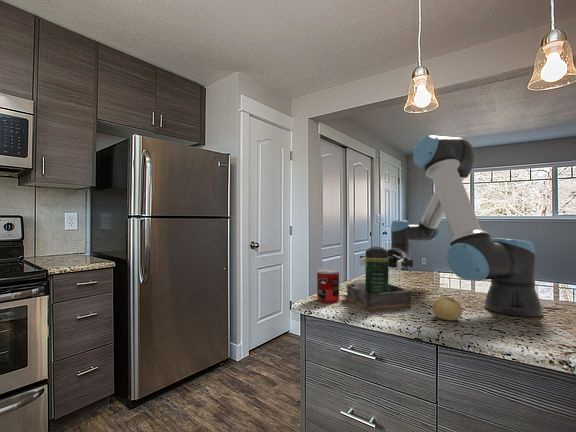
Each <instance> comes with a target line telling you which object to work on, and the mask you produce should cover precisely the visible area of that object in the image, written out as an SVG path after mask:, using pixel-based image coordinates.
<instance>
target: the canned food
mask: <svg viewBox="0 0 576 432" xmlns="http://www.w3.org/2000/svg"><path fill="white" fill-rule="evenodd" d="M316 283H317V284H316V290H317V291H316V296H317V297H316V299H317V300H318V302H319V303H325V304H333V303H337V302H339V300H340V271H339V270H338V269H333V268H320V269H317V271H316Z"/></svg>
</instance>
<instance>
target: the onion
mask: <svg viewBox="0 0 576 432" xmlns="http://www.w3.org/2000/svg"><path fill="white" fill-rule="evenodd" d="M454 298H455V296H452V297H449V296H442V297H439V298H437V299H435V300H434V301H433V303H432V306H431V308H432V313H433V314H434V316H435V317H436V318H438V319H440V320H443V321H457V320H459V319H460V318H461V317H462V314H463V307H462V306H461V304H460V303H459V302H458V301H457V300H456V299H454Z"/></svg>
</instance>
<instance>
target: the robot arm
mask: <svg viewBox="0 0 576 432" xmlns="http://www.w3.org/2000/svg"><path fill="white" fill-rule="evenodd" d="M413 150H414V151H413V156H412V157H413V158H412V159H413V163H414V165H415V166H416V167H418V168H421V169H423V172H424V173H425V176H426V177H427V178H430V179H431V180H432V182H433V186H434V188H435V190H434V193H433V194H432V196H431V199H430V200H429V203H428V204H427V207H426V208H425V210H424V213H423V214H422V217H421V219H420V221H419V222H418V224H412V223H411V224H410V222H409V220H406V219H405V220H399V219H398V220H394V219H393V220H392V221H391V224H390V225H391V226H390V239H391V241H390V242H391V244H390V249H386V250H387V251H388V263H389V268H396V269H397V270H400V269H402V268H405V267H406V268H407V267H409V268H413V266H414V260H413V259H411V256H412V253H411V250H410V242H431V241H435V240H437V239H438V238H439V236H440V229H439V225H440V223H441V221H442V220H443V218H444V216H445V218H446V219H445V220H446V222H447V223H448V224H447V225H448V228H449V230H450V232H451V236H452V239H451V240H450V243H449V245H450V247H449V248H448V250H447V256H446V259H447V264H448V266H449V268H450V270H451V271H452V273H453V274H454V275H455V276H456V277H459V279H461V280H465V281H473V282H481V281H485V280H487V281H488V280H490V286H489V288H488V291H487V294H486V297H485V300H484V307H485V309H487V310H489V311H492V312H495V313H499V314H503V315H508V316H515V317H524V318H537V317H541V316H543V314H544V313H543V306H542V305H541V301H540V297H539V295H538V293H537V290H536V252H535V245H534V243H532V242H531V241H528V240H520V239H512V238H501V237H493V238H492V237H491V235H490V233H489V232H487V231H485V230H483V229H482V228H481V225H480V223H479V220H478V218H477V215H476V213H475V210H474V208H473V205H472V202H471V201H470V198H469V195H468V192H467V191H466V188H465V185H464V183H463V181H464V179H467V178H469V176H470V174H471V172H472V170H473V168H474V164H475V161H476V160H475V158H476V155H475V153H476V152H475V150H474V146H473V145H472V144H471V142H470V141H468V140H467V139H465V138H463V137H459V136H457V137H453V136H452V137H451V136H440V135H426V136H423V137H422V138H421V139H419V141H418V142H417V143H416V145H415V147H414V149H413ZM365 262H366V255H360V256H359V266H360V267H362V266H365Z"/></svg>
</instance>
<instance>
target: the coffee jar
mask: <svg viewBox="0 0 576 432" xmlns="http://www.w3.org/2000/svg"><path fill="white" fill-rule="evenodd" d="M387 250H388V249H385V248H383V247H382V246H376V245H375V246H371V247H369V248H367V249H366V250H365V256H366V262H365V265H364V266H365V279H364V280H366V281H365V292H367V293H369V294H373V293H386V292H388V284H389V275H390V274H389V271H390V269H389V268H390V267H389V263H388V251H387Z"/></svg>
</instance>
